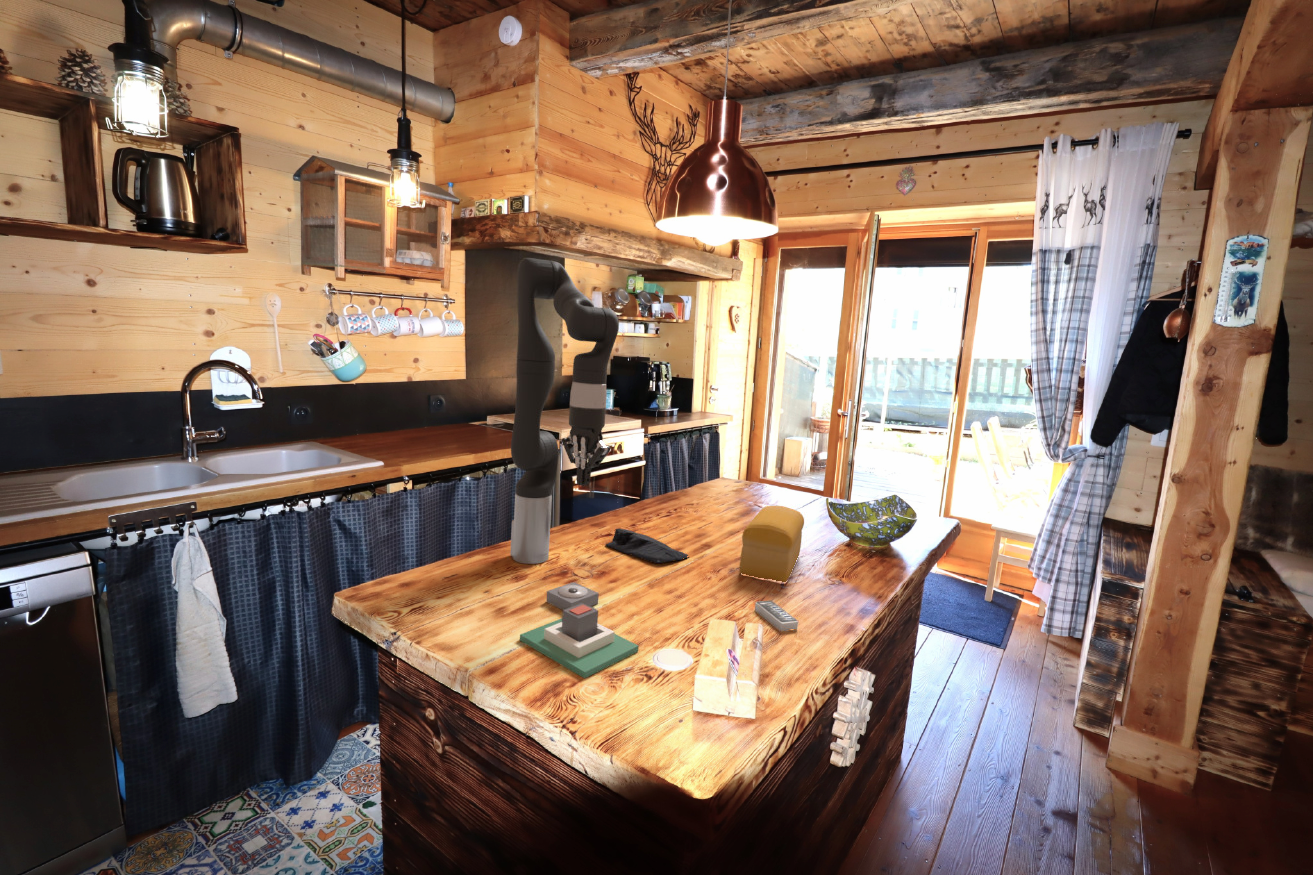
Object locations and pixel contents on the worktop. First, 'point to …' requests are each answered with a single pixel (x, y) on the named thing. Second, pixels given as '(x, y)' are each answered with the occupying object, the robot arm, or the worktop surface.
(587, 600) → the grey square domed block
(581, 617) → the keyed plug
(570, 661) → the circuit board
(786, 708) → the worktop surface
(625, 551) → the dark slate chunk
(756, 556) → the bread
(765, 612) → the multiport hub
